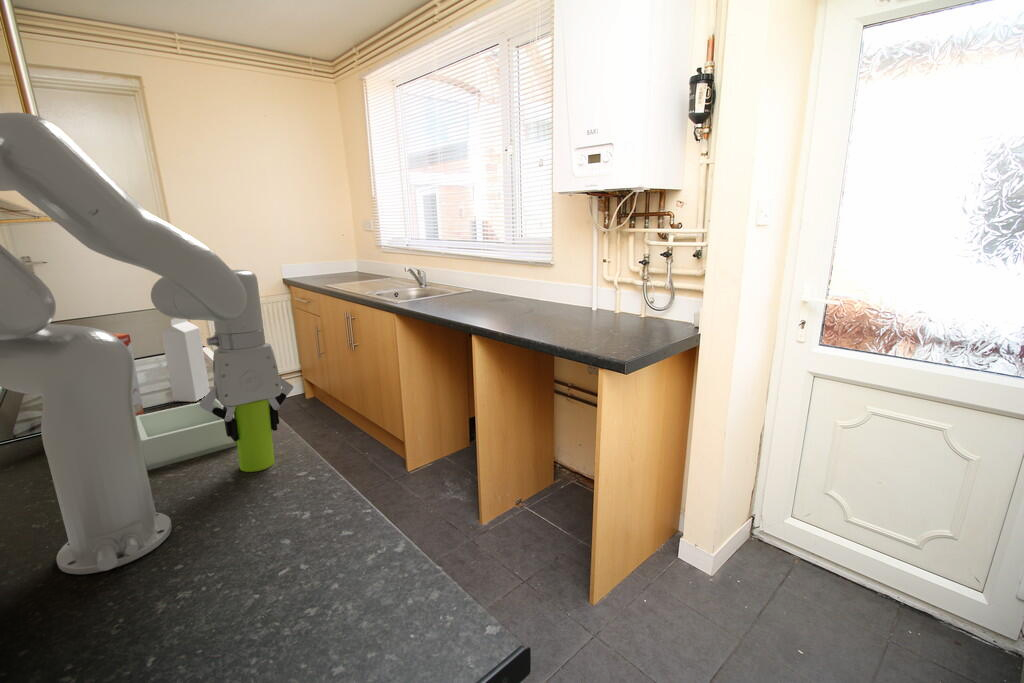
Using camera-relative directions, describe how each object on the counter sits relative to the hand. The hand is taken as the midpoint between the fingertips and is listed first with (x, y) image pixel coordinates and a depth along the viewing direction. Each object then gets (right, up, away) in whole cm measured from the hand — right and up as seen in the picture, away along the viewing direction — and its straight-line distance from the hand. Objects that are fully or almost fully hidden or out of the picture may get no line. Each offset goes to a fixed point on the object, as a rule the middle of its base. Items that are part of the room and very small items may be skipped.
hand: (254, 432), depth 89 cm
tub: (-19, -4, +11) cm, 22 cm away
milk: (-37, +2, +37) cm, 53 cm away
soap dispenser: (0, -6, +2) cm, 7 cm away
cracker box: (-44, -3, +19) cm, 48 cm away
